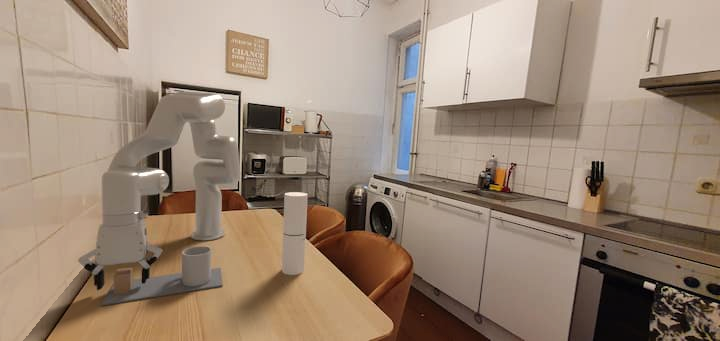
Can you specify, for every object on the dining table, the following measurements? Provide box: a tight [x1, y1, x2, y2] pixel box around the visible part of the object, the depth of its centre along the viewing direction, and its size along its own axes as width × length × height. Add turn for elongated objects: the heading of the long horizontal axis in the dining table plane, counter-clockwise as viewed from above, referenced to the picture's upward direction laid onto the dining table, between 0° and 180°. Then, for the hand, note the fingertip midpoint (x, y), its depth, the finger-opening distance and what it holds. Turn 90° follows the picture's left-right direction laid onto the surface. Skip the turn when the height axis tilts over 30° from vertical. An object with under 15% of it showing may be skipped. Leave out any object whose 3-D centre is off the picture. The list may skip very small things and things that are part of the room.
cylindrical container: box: [281, 191, 308, 276], centre depth 93 cm, size 7×7×25 cm
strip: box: [101, 267, 223, 306], centre depth 80 cm, size 12×26×5 cm, turn 118°
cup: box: [181, 245, 212, 287], centre depth 82 cm, size 7×10×9 cm
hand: (123, 284), depth 75 cm, fingers open, 8 cm apart
